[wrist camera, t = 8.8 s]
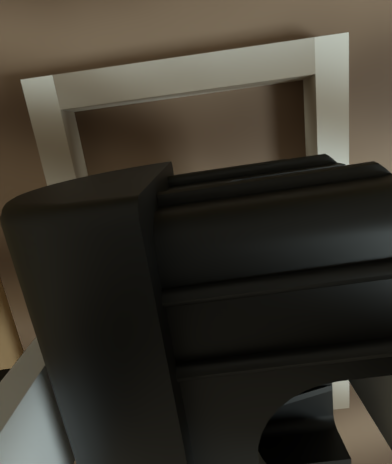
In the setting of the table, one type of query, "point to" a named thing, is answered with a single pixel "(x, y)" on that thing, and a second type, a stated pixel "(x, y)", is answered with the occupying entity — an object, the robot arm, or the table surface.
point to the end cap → (208, 306)
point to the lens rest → (192, 104)
